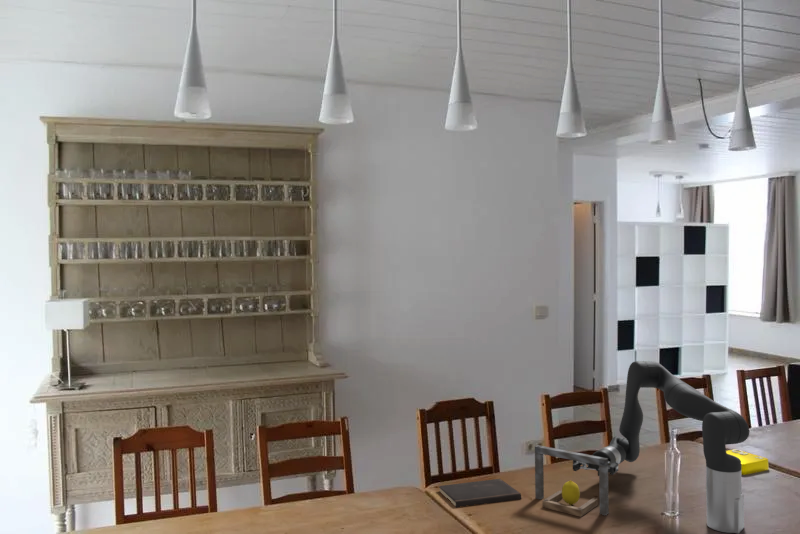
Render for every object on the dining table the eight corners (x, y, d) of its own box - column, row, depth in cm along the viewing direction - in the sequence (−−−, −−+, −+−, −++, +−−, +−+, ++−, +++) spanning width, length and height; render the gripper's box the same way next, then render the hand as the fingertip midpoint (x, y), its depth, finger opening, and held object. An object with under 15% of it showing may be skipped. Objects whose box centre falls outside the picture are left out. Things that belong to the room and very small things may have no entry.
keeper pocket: (614, 509, 203) (614, 454, 203) (598, 521, 194) (597, 464, 194) (545, 492, 219) (544, 442, 219) (527, 503, 210) (526, 450, 209)
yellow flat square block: (707, 465, 247) (707, 452, 247) (735, 459, 253) (735, 447, 253) (742, 476, 233) (742, 463, 233) (771, 470, 240) (770, 457, 240)
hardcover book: (438, 492, 222) (438, 485, 222) (500, 485, 229) (500, 478, 229) (455, 509, 207) (455, 501, 207) (521, 500, 213) (521, 493, 213)
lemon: (580, 509, 204) (580, 483, 204) (562, 508, 205) (561, 482, 205) (579, 502, 209) (578, 478, 209) (561, 501, 210) (561, 477, 210)
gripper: (586, 445, 232) (566, 455, 220) (626, 451, 223) (606, 463, 210) (587, 466, 232) (566, 477, 220) (626, 473, 223) (607, 486, 210)
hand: (586, 470), depth 215 cm, fingers open, 8 cm apart
